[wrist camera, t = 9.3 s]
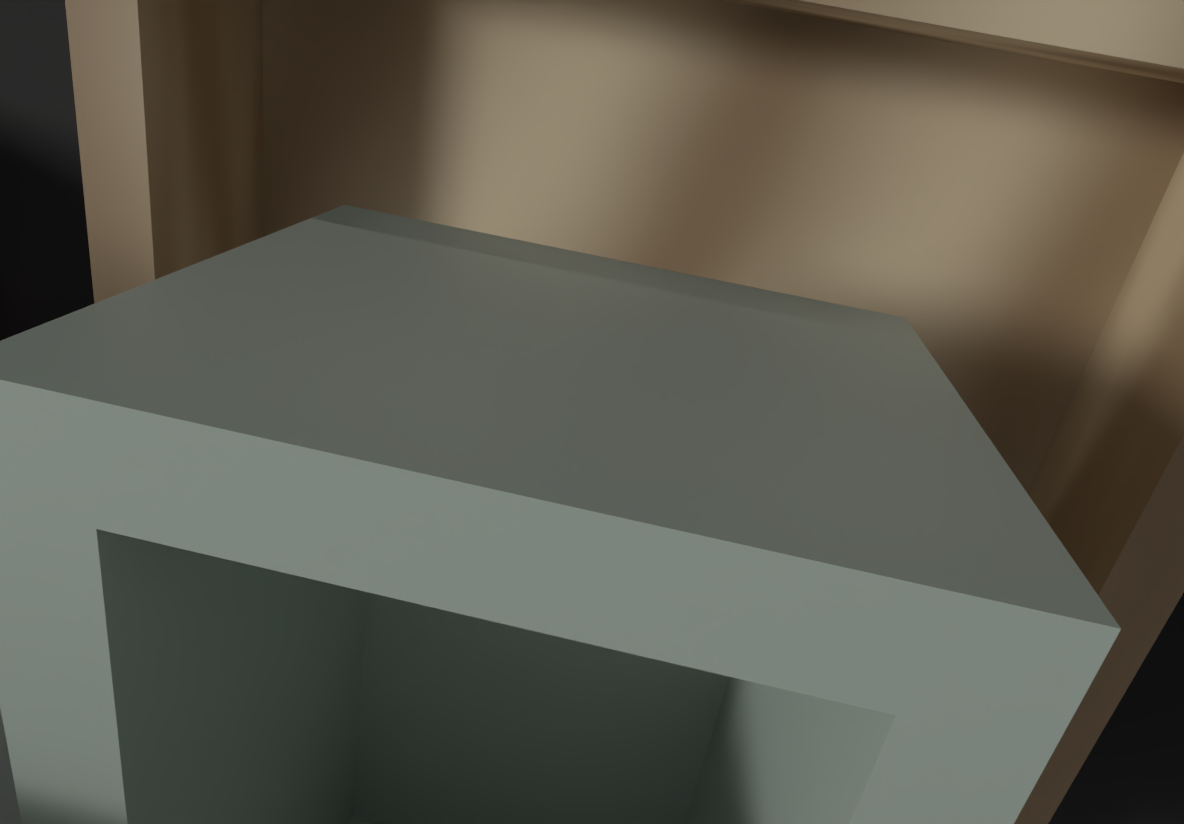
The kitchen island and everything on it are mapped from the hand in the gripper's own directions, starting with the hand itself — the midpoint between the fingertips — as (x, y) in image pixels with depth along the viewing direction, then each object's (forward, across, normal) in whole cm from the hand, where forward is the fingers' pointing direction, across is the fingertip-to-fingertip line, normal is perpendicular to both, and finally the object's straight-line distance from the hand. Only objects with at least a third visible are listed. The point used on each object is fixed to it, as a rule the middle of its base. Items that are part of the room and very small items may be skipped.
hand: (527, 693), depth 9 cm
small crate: (+2, 0, 0) cm, 2 cm away
